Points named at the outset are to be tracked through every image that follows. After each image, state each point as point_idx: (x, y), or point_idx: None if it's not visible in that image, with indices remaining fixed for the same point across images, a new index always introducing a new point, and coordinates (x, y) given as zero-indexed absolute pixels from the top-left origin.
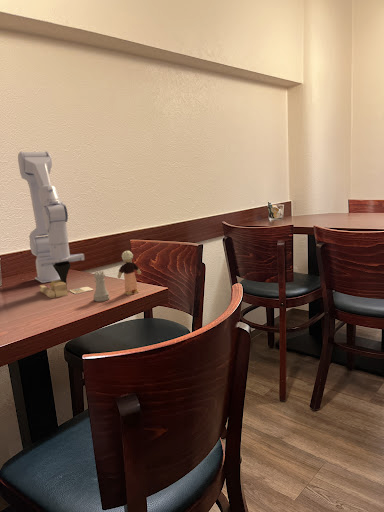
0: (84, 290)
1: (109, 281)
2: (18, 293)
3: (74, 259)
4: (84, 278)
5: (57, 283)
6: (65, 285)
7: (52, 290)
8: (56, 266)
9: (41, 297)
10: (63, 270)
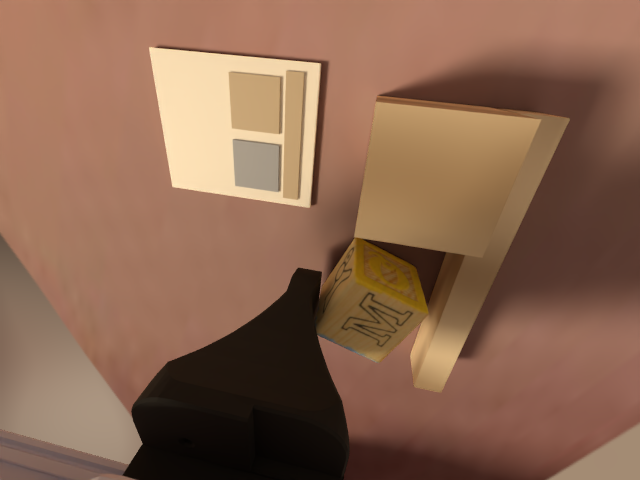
0: (222, 85)
1: (26, 192)
2: (535, 415)
3: (33, 474)
4: (152, 362)
5: (434, 209)
6: (390, 101)
7: None
8: (344, 463)
9: (546, 221)
10: (277, 360)
